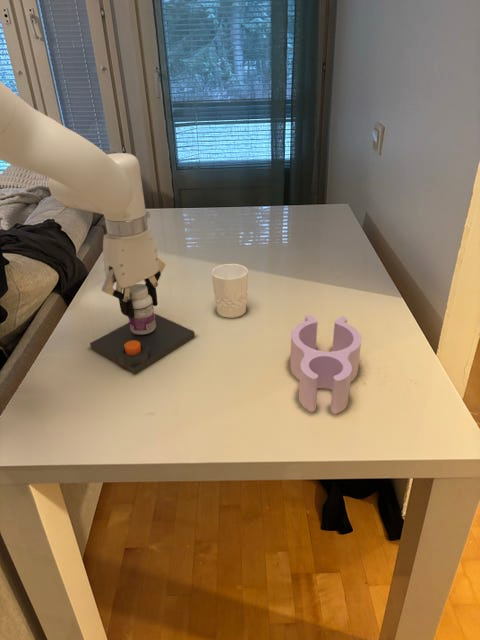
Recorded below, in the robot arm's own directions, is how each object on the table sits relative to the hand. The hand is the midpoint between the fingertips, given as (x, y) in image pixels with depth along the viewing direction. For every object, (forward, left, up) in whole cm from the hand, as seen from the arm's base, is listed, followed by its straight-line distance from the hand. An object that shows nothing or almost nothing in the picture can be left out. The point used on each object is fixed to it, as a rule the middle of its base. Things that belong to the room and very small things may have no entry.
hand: (140, 308), depth 95 cm
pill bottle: (0, 0, -5) cm, 5 cm away
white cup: (+19, -8, -7) cm, 22 cm away
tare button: (-7, -6, -4) cm, 10 cm away
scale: (-2, -2, -7) cm, 7 cm away
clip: (+11, -37, -7) cm, 39 cm away
